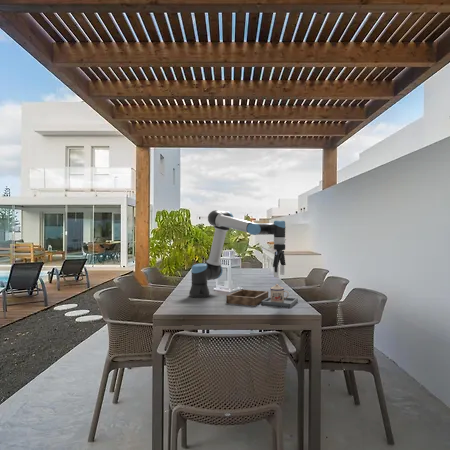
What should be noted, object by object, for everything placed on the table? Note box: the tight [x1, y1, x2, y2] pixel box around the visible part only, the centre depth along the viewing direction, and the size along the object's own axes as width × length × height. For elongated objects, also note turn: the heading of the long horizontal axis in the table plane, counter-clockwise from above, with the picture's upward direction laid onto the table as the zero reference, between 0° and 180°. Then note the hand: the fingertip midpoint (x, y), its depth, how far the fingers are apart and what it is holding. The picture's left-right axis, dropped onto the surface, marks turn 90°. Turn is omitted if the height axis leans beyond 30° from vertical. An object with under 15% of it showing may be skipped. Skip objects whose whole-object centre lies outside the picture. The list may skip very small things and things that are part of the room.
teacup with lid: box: [270, 283, 290, 303], centre depth 226 cm, size 12×9×12 cm
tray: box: [260, 295, 299, 309], centre depth 226 cm, size 19×19×2 cm
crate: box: [225, 289, 269, 306], centre depth 235 cm, size 20×26×5 cm
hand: (279, 276), depth 226 cm, fingers open, 13 cm apart
